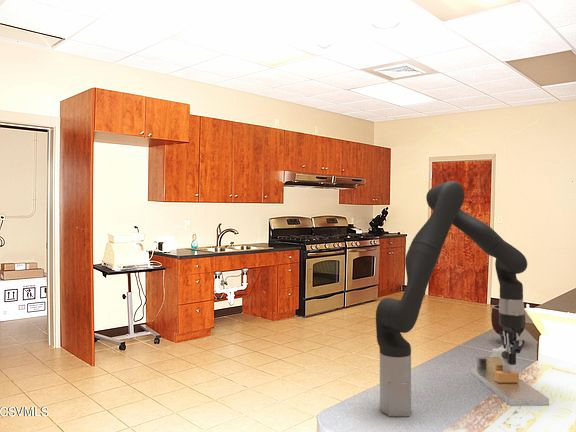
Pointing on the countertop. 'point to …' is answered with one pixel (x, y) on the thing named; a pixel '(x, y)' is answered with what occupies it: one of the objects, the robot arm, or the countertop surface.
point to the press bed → (509, 387)
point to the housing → (493, 365)
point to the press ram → (506, 372)
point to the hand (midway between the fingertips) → (511, 364)
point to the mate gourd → (496, 324)
